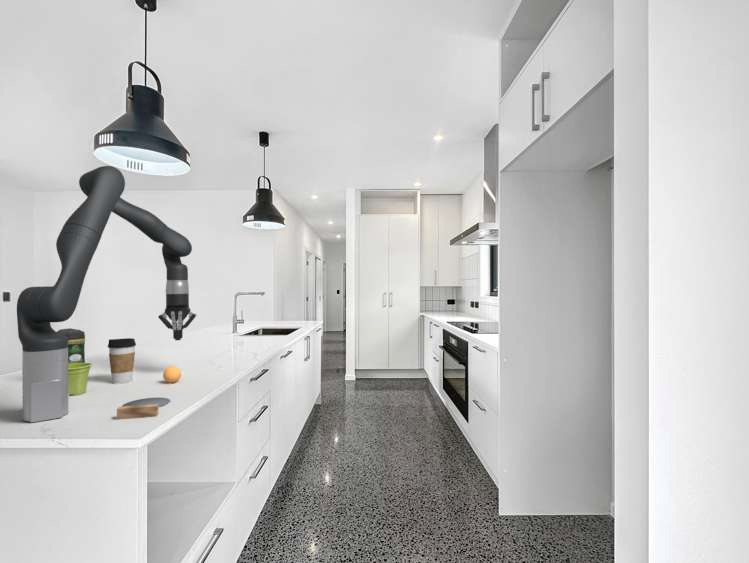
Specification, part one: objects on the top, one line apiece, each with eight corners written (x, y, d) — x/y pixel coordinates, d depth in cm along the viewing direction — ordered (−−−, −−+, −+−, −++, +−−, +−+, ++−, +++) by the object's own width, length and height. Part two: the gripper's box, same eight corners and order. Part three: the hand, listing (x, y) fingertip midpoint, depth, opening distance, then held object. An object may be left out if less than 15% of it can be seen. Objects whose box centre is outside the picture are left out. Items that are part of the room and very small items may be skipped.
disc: (175, 404, 115) (175, 404, 115) (125, 413, 108) (125, 412, 108) (164, 395, 125) (164, 395, 125) (118, 403, 117) (118, 402, 117)
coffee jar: (51, 382, 143) (50, 328, 144) (77, 378, 150) (77, 326, 150) (61, 386, 138) (61, 330, 138) (88, 381, 144) (88, 328, 144)
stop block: (158, 413, 107) (158, 403, 107) (156, 416, 105) (156, 406, 105) (119, 416, 105) (119, 406, 105) (116, 419, 103) (116, 409, 103)
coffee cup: (101, 383, 141) (101, 339, 141) (123, 378, 149) (123, 336, 149) (120, 385, 138) (120, 340, 138) (141, 379, 146) (141, 337, 146)
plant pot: (69, 398, 122) (69, 369, 122) (47, 396, 125) (47, 367, 126) (99, 391, 131) (99, 363, 131) (78, 388, 134) (78, 362, 134)
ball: (183, 382, 141) (183, 366, 141) (165, 385, 138) (165, 368, 138) (178, 379, 145) (178, 363, 146) (161, 382, 142) (161, 366, 142)
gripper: (198, 292, 156) (199, 338, 156) (160, 292, 153) (160, 339, 153) (195, 292, 149) (195, 340, 149) (154, 293, 146) (155, 342, 146)
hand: (177, 340), depth 151 cm, fingers closed
